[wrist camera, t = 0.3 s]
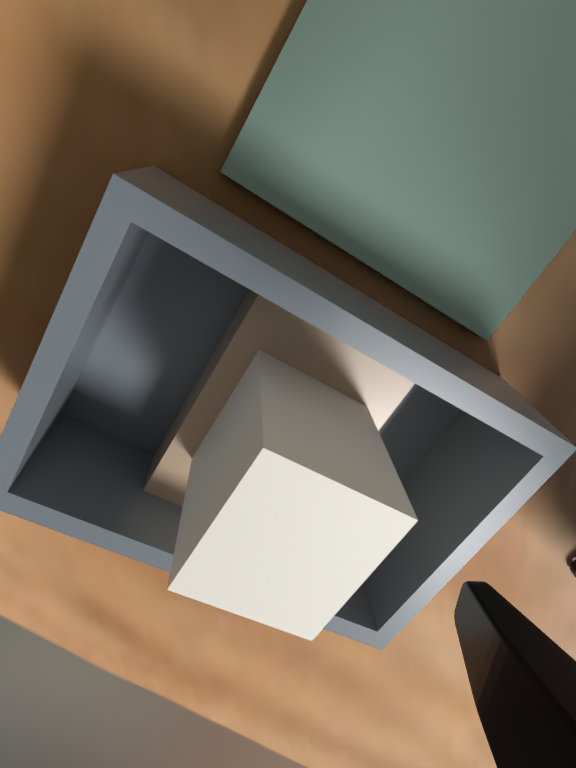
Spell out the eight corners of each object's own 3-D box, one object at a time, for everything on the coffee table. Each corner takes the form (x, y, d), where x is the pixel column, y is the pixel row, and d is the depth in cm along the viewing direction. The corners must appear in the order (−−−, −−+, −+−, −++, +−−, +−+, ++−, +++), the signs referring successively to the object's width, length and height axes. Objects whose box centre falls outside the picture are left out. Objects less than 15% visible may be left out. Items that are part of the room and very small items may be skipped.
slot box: (501, 377, 21) (577, 448, 16) (355, 549, 25) (381, 649, 20) (154, 165, 17) (112, 173, 12) (40, 414, 20) (-27, 500, 15)
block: (367, 406, 18) (418, 520, 12) (295, 503, 19) (311, 640, 14) (259, 349, 16) (263, 447, 11) (191, 458, 18) (167, 589, 13)
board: (673, 96, 17) (685, 94, 16) (481, 336, 20) (487, 340, 20) (394, -171, 13) (399, -182, 13) (220, 171, 17) (219, 171, 16)
